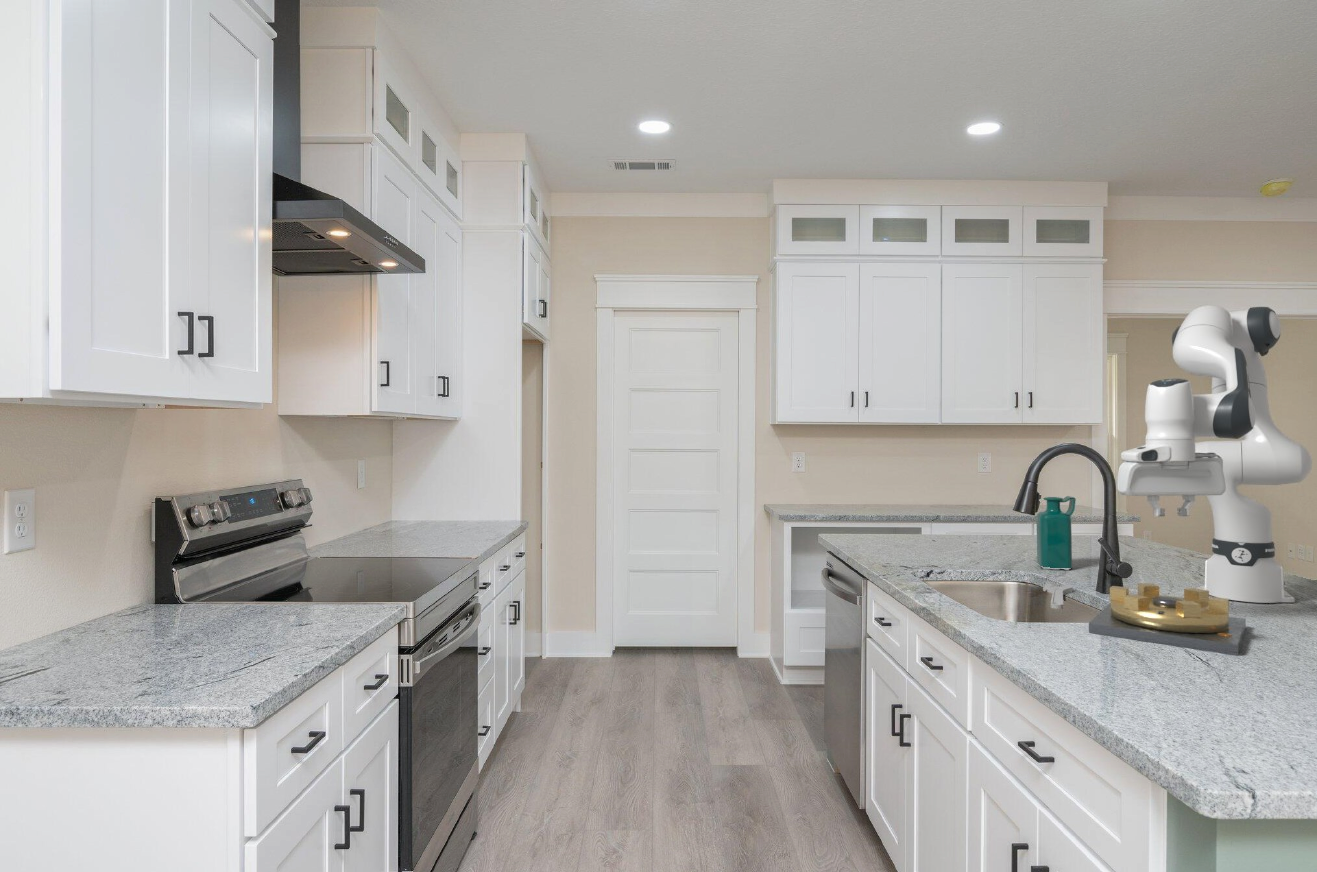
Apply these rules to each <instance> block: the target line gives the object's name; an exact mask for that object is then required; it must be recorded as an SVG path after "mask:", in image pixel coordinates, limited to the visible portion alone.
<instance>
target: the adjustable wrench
mask: <svg viewBox="0 0 1317 872" xmlns="http://www.w3.org/2000/svg"><path fill="white" fill-rule="evenodd" d="M1042 590H1043V592H1046V593H1049V594H1052V595H1051V600H1050V608H1051V609H1056V610H1062V609H1064V595H1066V594H1070V593H1072V592H1073V586H1072V585H1069V584H1067V583H1066V584H1065V583H1061V585H1059V586H1057V585H1056V586H1055V585H1053V584H1051V583H1046V584H1044V585H1043V588H1042Z"/></svg>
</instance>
